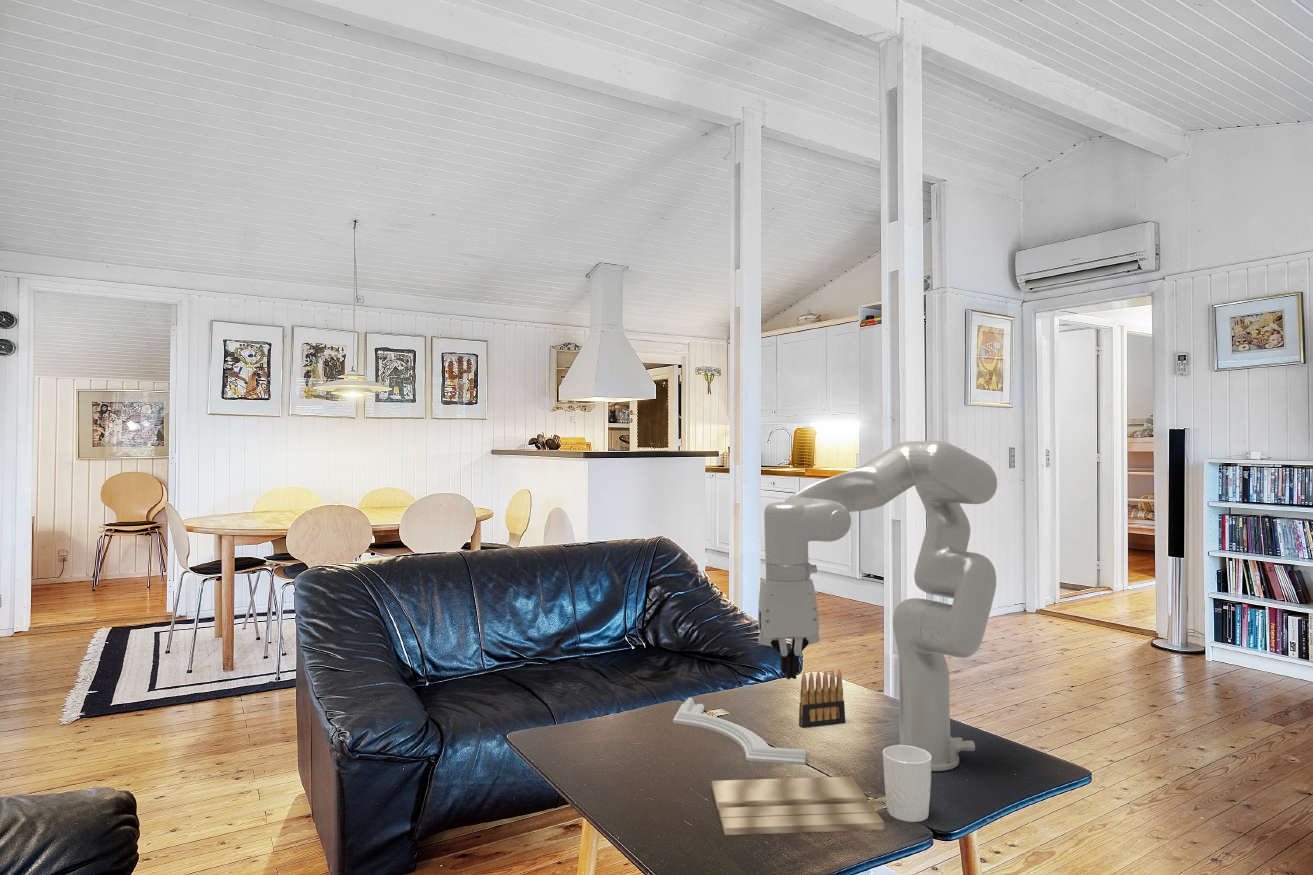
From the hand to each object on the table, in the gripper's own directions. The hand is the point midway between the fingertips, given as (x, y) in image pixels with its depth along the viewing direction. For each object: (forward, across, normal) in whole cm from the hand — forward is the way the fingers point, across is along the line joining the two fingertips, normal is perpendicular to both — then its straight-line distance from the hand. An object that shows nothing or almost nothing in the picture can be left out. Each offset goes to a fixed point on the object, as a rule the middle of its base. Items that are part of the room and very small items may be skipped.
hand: (790, 676), depth 136 cm
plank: (+22, +1, -1) cm, 22 cm away
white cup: (+22, -18, +6) cm, 29 cm away
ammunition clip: (+23, -15, -37) cm, 46 cm away
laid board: (+22, +1, +8) cm, 23 cm away
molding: (+23, +5, -33) cm, 41 cm away
